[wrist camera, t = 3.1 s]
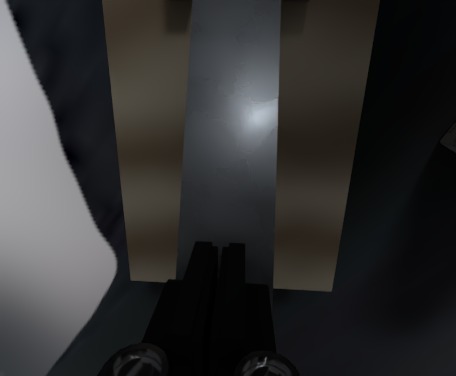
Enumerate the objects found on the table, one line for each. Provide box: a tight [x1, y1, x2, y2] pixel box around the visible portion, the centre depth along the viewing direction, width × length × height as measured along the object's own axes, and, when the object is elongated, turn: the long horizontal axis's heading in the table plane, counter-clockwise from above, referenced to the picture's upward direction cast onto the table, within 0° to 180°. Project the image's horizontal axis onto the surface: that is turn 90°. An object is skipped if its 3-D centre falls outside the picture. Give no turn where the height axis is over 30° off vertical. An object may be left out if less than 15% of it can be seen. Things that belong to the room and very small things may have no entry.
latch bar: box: [176, 0, 281, 313], centre depth 13 cm, size 16×4×1 cm, turn 178°
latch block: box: [102, 0, 380, 292], centre depth 19 cm, size 20×14×8 cm
